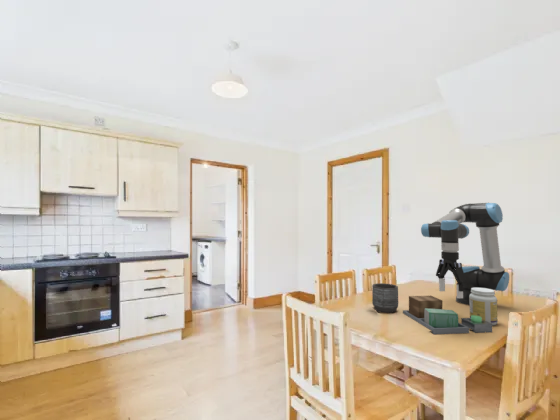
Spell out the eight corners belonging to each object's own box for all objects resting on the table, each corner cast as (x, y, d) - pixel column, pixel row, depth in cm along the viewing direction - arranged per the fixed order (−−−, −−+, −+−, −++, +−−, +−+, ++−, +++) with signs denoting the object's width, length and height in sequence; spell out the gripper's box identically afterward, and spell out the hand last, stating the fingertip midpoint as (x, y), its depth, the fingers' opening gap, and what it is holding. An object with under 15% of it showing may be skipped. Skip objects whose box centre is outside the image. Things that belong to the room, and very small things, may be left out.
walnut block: (431, 313, 169) (430, 295, 169) (442, 319, 159) (442, 300, 159) (408, 314, 167) (408, 296, 168) (418, 320, 157) (418, 300, 158)
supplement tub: (490, 319, 163) (489, 287, 163) (502, 327, 151) (502, 292, 151) (465, 317, 165) (464, 286, 165) (475, 325, 153) (475, 291, 153)
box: (459, 329, 144) (458, 313, 145) (428, 327, 147) (428, 312, 147) (452, 324, 152) (452, 309, 152) (424, 322, 154) (423, 307, 154)
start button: (477, 323, 150) (477, 315, 150) (484, 326, 146) (483, 318, 146) (468, 323, 150) (468, 315, 150) (475, 326, 145) (475, 318, 145)
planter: (399, 309, 179) (398, 284, 179) (397, 316, 166) (397, 289, 166) (374, 306, 185) (374, 282, 185) (370, 313, 172) (370, 287, 172)
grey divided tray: (432, 313, 171) (432, 309, 171) (469, 333, 142) (469, 327, 142) (402, 314, 170) (402, 310, 170) (434, 334, 141) (433, 328, 141)
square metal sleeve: (478, 325, 152) (478, 317, 153) (492, 332, 144) (492, 323, 144) (461, 326, 152) (461, 318, 152) (474, 332, 143) (474, 324, 143)
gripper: (428, 248, 162) (428, 288, 161) (459, 254, 137) (460, 301, 137) (441, 248, 163) (442, 288, 162) (475, 254, 138) (476, 301, 137)
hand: (450, 294), depth 149 cm, fingers open, 13 cm apart
